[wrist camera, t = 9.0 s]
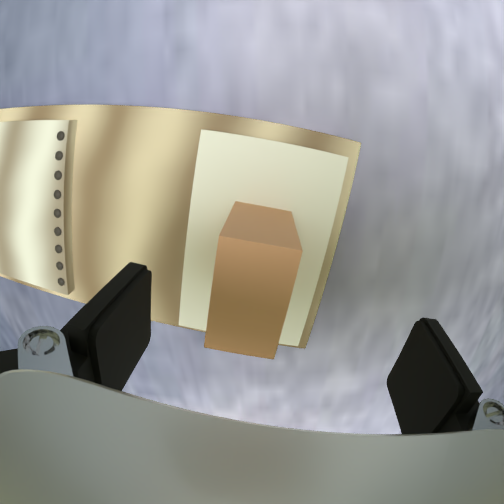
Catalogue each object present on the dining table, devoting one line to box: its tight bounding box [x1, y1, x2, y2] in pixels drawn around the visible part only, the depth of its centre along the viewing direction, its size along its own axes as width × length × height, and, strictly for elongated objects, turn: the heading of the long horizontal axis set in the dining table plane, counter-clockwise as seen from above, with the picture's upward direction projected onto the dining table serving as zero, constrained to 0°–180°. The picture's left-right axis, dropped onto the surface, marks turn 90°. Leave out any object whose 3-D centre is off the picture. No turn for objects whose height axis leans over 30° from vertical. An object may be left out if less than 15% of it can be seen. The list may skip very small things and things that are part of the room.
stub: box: [179, 129, 349, 359], centre depth 15 cm, size 8×12×7 cm, turn 170°
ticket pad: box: [0, 105, 361, 349], centre depth 19 cm, size 30×14×3 cm, turn 80°
